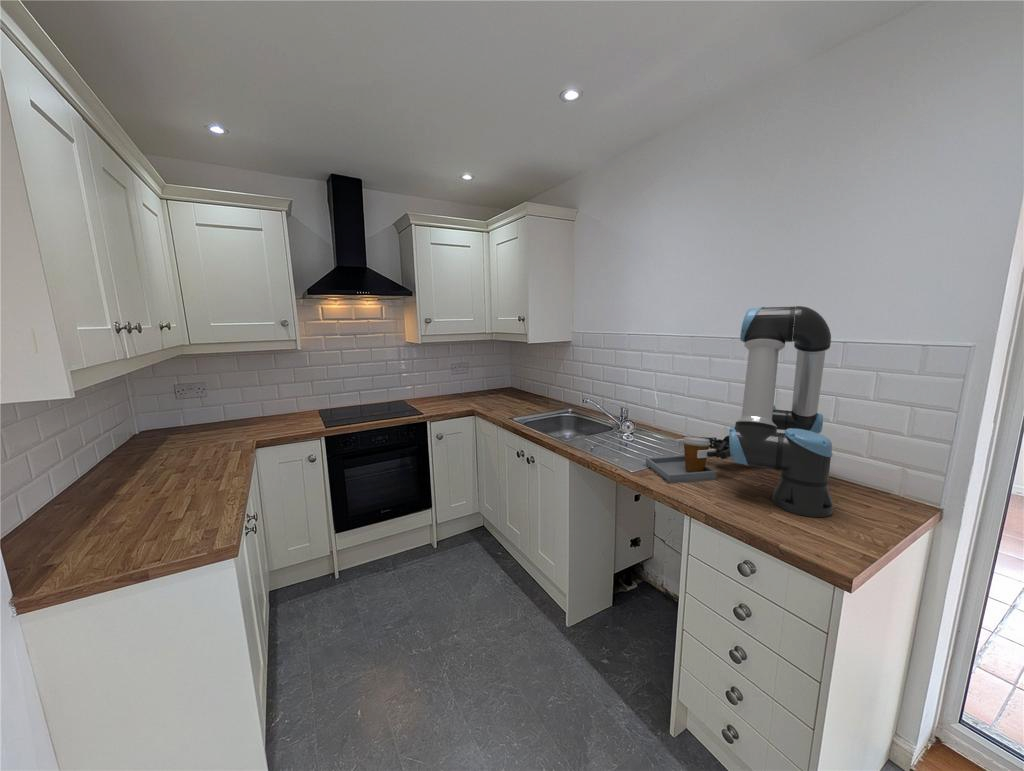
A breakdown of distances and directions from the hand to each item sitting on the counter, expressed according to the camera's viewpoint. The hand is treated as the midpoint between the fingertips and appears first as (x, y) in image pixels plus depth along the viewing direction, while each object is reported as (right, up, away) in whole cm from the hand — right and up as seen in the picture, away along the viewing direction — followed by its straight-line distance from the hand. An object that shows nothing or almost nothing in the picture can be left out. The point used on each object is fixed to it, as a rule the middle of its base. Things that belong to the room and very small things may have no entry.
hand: (686, 448), depth 151 cm
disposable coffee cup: (+2, -8, -2) cm, 9 cm away
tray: (-3, -9, +1) cm, 10 cm away
